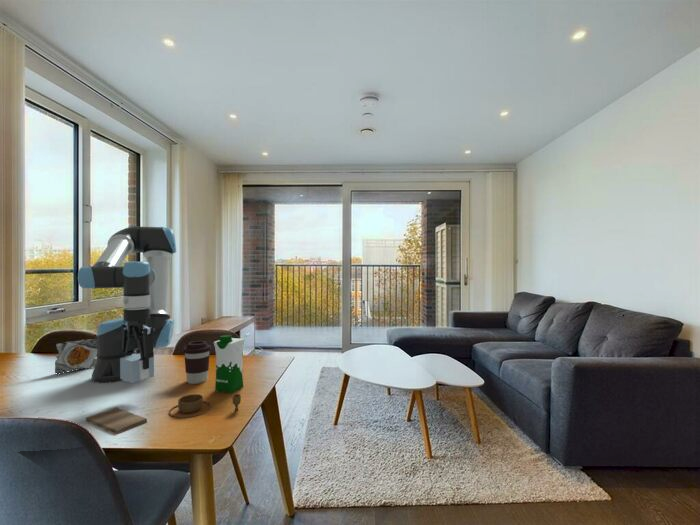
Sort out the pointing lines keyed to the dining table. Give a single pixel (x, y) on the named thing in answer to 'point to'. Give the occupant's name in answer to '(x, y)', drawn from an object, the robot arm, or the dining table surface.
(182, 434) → the dining table surface
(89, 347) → the meal
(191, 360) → the coffee cup
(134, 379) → the cube
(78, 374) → the dining table surface
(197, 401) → the place setting
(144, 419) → the board
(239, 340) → the milk carton
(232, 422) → the dining table surface
